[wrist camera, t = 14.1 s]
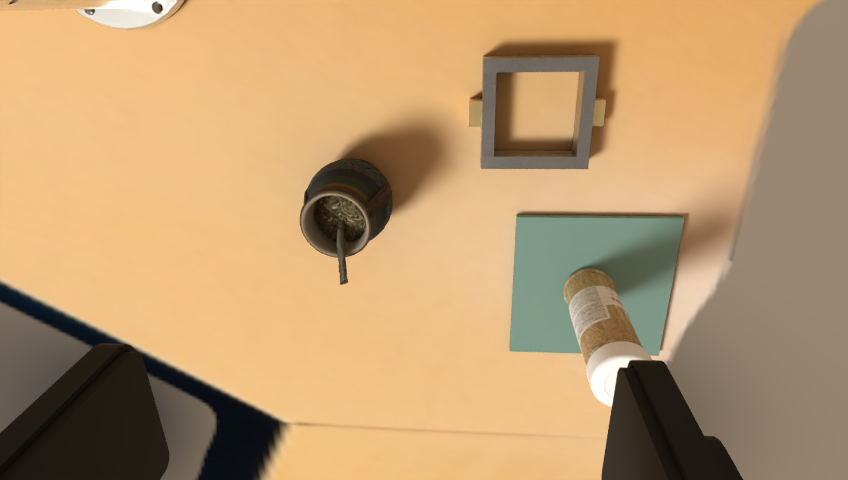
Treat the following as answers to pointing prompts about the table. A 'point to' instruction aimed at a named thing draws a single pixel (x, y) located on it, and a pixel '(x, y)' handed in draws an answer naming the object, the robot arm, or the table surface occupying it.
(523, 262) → the mat
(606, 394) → the sprinkles bottle
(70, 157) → the table surface
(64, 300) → the table surface
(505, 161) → the grey picture frame
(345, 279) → the mate gourd
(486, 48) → the table surface
